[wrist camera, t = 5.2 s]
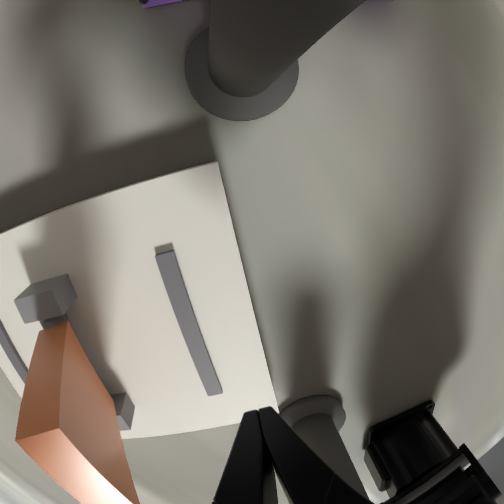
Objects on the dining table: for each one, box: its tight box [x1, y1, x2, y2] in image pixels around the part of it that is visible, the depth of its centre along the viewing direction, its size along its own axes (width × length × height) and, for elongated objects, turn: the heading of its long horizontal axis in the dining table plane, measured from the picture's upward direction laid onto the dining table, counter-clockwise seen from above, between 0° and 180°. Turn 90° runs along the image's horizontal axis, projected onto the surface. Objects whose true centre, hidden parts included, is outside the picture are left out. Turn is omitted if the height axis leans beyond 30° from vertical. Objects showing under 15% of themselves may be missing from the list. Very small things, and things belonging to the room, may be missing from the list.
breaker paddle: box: [15, 312, 140, 504], centre depth 10 cm, size 2×6×8 cm, turn 11°
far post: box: [279, 395, 369, 500], centre depth 15 cm, size 5×5×10 cm
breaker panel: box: [0, 161, 279, 439], centre depth 14 cm, size 16×14×4 cm
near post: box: [185, 0, 365, 121], centre depth 8 cm, size 5×5×10 cm
